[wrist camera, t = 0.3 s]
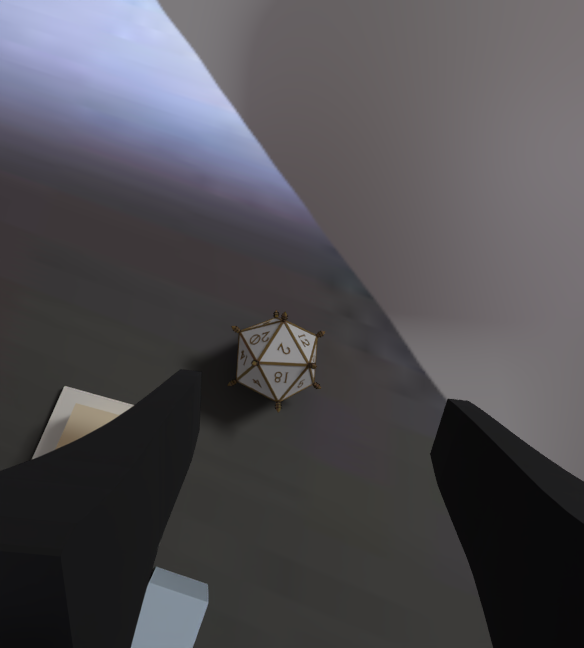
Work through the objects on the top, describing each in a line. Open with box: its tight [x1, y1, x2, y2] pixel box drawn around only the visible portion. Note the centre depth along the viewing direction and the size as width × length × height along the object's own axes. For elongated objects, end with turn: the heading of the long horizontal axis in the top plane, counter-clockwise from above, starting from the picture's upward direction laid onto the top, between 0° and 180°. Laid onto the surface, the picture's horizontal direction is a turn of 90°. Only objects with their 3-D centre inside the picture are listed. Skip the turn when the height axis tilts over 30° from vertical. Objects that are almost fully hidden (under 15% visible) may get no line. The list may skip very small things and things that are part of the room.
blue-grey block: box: [131, 567, 208, 648], centre depth 32 cm, size 4×4×5 cm
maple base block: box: [56, 403, 119, 449], centre depth 35 cm, size 7×7×4 cm
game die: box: [227, 310, 325, 413], centre depth 38 cm, size 9×8×10 cm
